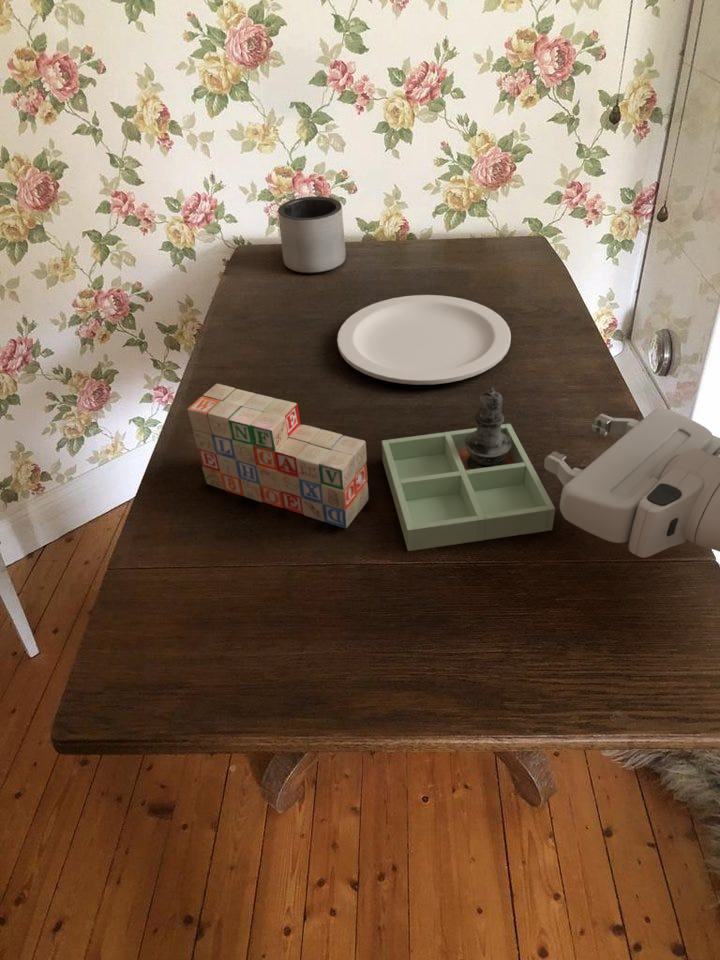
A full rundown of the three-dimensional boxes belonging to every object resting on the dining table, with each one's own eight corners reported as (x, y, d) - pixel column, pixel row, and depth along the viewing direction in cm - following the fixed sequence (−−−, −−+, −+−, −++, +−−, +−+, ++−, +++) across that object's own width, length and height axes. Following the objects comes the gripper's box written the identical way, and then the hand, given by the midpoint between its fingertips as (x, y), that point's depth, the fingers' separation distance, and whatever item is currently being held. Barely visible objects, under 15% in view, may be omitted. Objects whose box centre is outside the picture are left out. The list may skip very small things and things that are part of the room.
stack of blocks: (370, 499, 95) (365, 419, 87) (346, 530, 91) (339, 450, 83) (232, 457, 103) (216, 381, 95) (204, 484, 99) (185, 406, 91)
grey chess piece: (505, 449, 100) (512, 372, 93) (512, 477, 96) (520, 398, 88) (461, 451, 100) (464, 374, 93) (466, 479, 96) (470, 401, 88)
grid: (508, 443, 102) (510, 423, 100) (552, 530, 89) (555, 508, 87) (382, 460, 101) (381, 440, 99) (407, 551, 88) (407, 530, 85)
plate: (305, 344, 126) (303, 331, 125) (430, 292, 138) (430, 280, 137) (413, 415, 108) (413, 402, 107) (546, 348, 121) (548, 335, 119)
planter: (300, 281, 145) (294, 224, 138) (274, 259, 154) (266, 205, 146) (357, 265, 149) (354, 209, 142) (328, 244, 158) (324, 191, 151)
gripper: (743, 423, 80) (625, 378, 88) (645, 520, 69) (521, 459, 77) (728, 469, 84) (616, 422, 92) (633, 567, 73) (516, 505, 81)
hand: (572, 439), depth 84 cm, fingers open, 8 cm apart
